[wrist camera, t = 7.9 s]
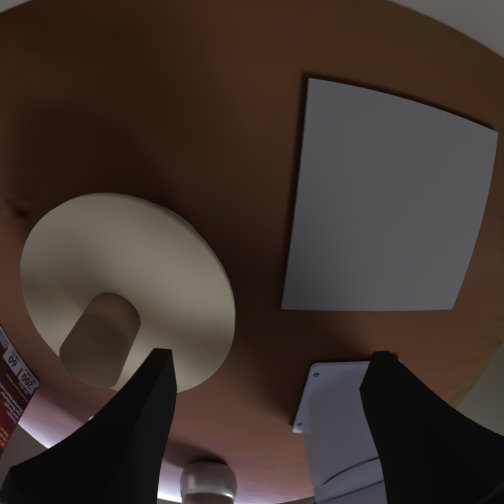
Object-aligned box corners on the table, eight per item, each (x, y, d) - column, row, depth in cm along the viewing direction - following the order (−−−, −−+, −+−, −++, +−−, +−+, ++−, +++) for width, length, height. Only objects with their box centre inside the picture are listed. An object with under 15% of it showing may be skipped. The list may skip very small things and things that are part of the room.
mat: (449, 306, 21) (452, 309, 21) (280, 305, 20) (281, 309, 20) (494, 132, 15) (498, 132, 15) (307, 78, 15) (309, 77, 14)
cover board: (226, 397, 18) (223, 456, 14) (52, 365, 17) (26, 411, 13) (249, 204, 13) (251, 246, 9) (14, 188, 12) (-44, 217, 8)
